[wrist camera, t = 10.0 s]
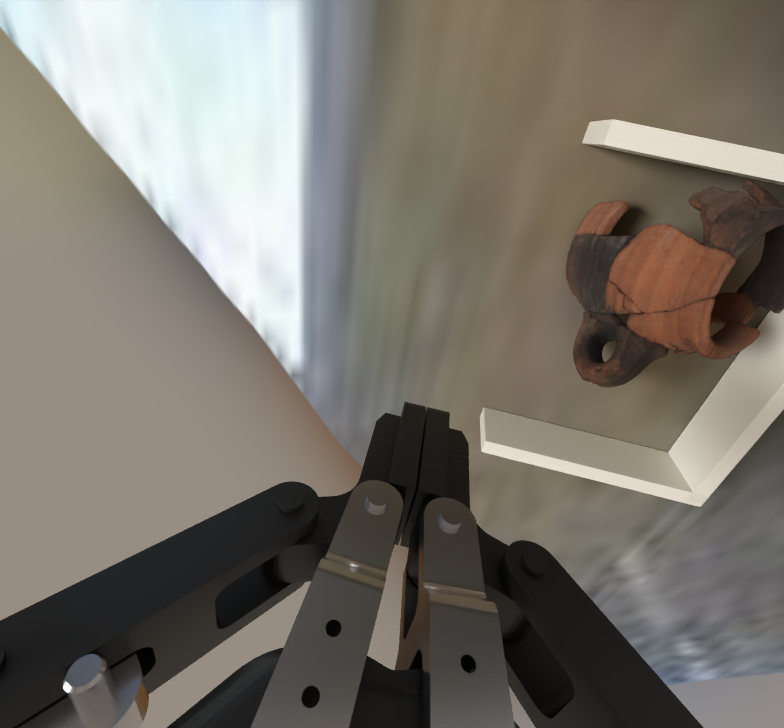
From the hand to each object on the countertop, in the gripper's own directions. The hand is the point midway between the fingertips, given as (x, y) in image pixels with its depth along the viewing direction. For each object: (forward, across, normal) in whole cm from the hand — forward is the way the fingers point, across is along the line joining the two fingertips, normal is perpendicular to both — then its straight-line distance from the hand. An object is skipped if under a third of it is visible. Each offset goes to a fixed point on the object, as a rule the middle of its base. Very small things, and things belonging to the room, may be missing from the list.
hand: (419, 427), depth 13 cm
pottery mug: (+16, -12, -3) cm, 20 cm away
